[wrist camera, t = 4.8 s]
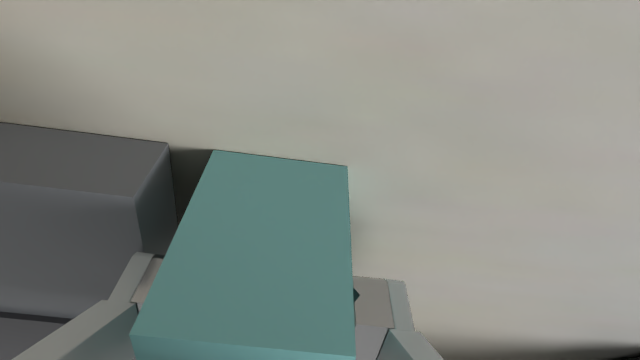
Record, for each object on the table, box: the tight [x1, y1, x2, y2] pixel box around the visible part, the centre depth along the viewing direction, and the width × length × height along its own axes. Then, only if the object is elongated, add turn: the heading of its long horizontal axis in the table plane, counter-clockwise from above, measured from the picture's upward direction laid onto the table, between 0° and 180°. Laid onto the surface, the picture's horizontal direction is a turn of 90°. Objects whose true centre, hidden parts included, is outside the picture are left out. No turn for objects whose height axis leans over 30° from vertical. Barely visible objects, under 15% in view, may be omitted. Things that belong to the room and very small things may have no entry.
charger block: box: [129, 150, 356, 360], centre depth 11 cm, size 4×4×6 cm
